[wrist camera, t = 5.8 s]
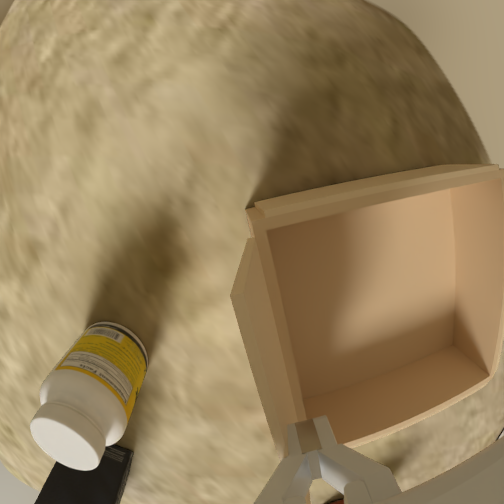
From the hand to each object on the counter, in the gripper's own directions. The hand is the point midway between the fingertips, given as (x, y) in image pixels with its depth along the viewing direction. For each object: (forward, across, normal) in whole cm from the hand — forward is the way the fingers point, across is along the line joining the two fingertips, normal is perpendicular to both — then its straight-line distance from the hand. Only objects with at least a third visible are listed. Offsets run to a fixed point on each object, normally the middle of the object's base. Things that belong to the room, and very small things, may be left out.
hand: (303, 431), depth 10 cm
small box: (+11, -20, -14) cm, 27 cm away
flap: (+1, 0, 0) cm, 1 cm away
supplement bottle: (+11, -12, 0) cm, 16 cm away
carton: (+11, +7, 0) cm, 13 cm away
